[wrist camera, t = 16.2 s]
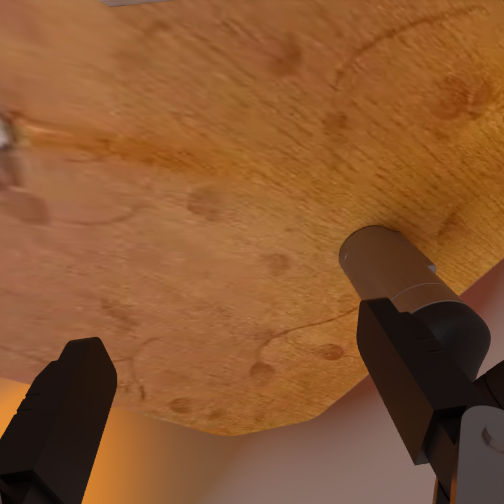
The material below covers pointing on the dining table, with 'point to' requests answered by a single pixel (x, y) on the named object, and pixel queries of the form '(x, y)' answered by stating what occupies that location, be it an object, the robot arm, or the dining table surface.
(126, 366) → the dining table surface
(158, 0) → the well
